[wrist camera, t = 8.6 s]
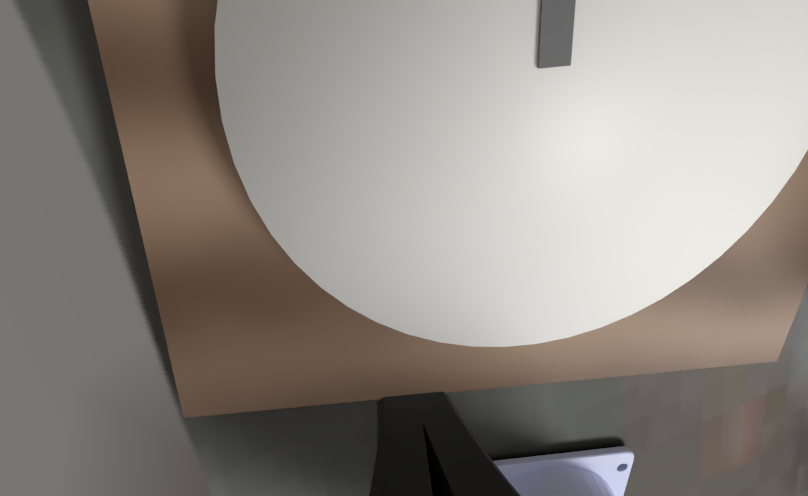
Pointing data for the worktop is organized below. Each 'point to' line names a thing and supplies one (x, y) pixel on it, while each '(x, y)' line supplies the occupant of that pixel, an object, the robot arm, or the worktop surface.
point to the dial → (510, 149)
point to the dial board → (324, 314)
